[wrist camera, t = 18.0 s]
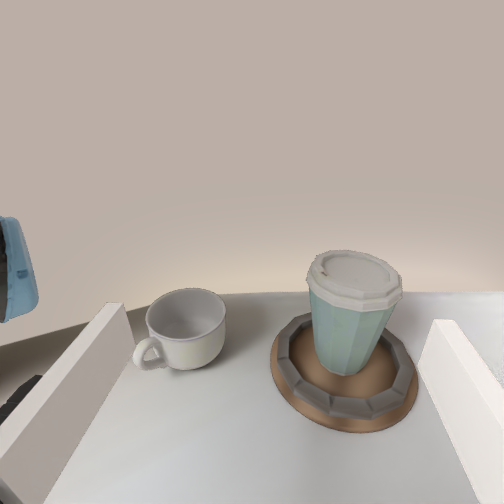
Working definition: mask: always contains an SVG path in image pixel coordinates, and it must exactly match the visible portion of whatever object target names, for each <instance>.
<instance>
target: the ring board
mask: <svg viewBox="0 0 504 504" xmlns="http://www.w3.org/2000/svg"><path fill="white" fill-rule="evenodd" d="M271 371H272V375H273V379H274V381H275V383H276V386H277V388H278V389H279V391H280V392H281V394H282V395H283V397H284V398H285V399H286V400H287V401H288V403H289V404H290V405H291V406H293V407H294V408H295V409H296V410H297V411H298V412H300V413H301V414H302V415H304V416H305V417H307V418H308V419H310V420H312V421H314V422H316V423H318V424H320V425H322V426H325V427H327V428H331V429H334V430H338V431H343V432H349V433H370V432H376V431H380V430H384V429H386V428H389V427H391V426H393V425H395V424H396V423H398V422H399V421H401V420H402V419H403V418H404V417H405V416H406V415H407V414H408V412H409V411H410V409H411V408H412V405H413V403H414V401H415V398H416V395H417V389H418V378H417V372H416V369H415V366H414V364H413V362H412V360H411V358H410V356H409V355H408V353H407V352H406V349H405V347H404V345H403V343H402V342H401V341H400V340H399V339H398V338H396V337H395V336H394V335H393V334H392V333H390V332H389V331H388V330H387V329H386V328H384V329H383V331H382V333H381V335H380V338H379V340H378V342H377V344H376V346H375V348H374V350H373V352H372V354H371V356H370V358H369V360H368V362H367V364H366V365H365V366H364V367H363V368H362V369H361V370H360V371H359V372H357V373H356V374H355V375H348V376H341V375H338V374H334V373H331V372H330V371H328V370H327V369H326V368H325V367H323V366H322V365H321V363H320V361H319V359H318V357H317V354H316V352H315V344H314V334H313V323H312V313H311V312H310V313H307V314H304V315H301V316H298V317H295V318H294V319H293V320H292V321H291V322H290V323H289V324H288V325H287V326H286V327H285V328H284V329H283V330H281V332H280V333H279V334H278V335H277V337H276V339H275V340H274V343H273V346H272V349H271Z"/></svg>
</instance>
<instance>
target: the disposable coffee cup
mask: <svg viewBox="0 0 504 504" xmlns="http://www.w3.org/2000/svg"><path fill="white" fill-rule="evenodd" d="M306 281H307V283H308V285H309V292H310V303H311V313H312V323H313V334H314V344H315V352H316V354H317V357H318V359H319V361H320V363H321V365H322V366H323V367H325V368H326V369H327V370H328V371H330V372H331V373H334V374H338V375H341V376H348V375H355V374H356V373H357V372H359V371H360V370H361V369H362V368H363V367H364V366H365V365H366V364H367V362H368V360H369V358H370V356H371V354H372V352H373V350H374V348H375V346H376V344H377V342H378V340H379V338H380V335H381V333H382V331H383V329H384V327H385V325H386V323H387V321H388V319H389V317H390V315H391V313H392V311H393V309H394V307H395V305H396V303H397V302H398V301H399V300H400V299H401V298H402V279H401V276H400V275H399V274H398V273H397V271H395V270H394V269H393V268H392V267H391V266H390V265H389V264H388V263H387V262H385V261H383V260H381V259H379V258H376V257H374V256H372V255H369V254H366V253H361V252H355V251H350V250H334V251H328V252H325V253H322V254H319V255H317V256H316V258H315V260H314V261H313V262H312V264H311V266H310V269H309V271H308V273H307V278H306Z"/></svg>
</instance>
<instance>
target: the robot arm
mask: <svg viewBox="0 0 504 504" xmlns="http://www.w3.org/2000/svg"><path fill="white" fill-rule="evenodd" d="M38 299H39V296H38V290H37V285H36V280H35V276H34V271H33V268H32V263H31V259H30V256H29V252H28V248H27V245H26V242H25V239H24V235H23V232H22V229H21V226H20V224H19V222H18V220H17V219H15V218H13V217H5V218H4V217H2V216H1V217H0V323H5V322H7V321H9V319H12V318H14V317H17V316H20V315H23V314H25V313H28V312H30V311H32V310H33V309H34V308H35V307H36V305H37V303H38ZM135 349H136V344H135V341H134V337H133V334H132V331H131V327H130V324H129V321H128V318H127V314H126V311H125V308H124V304H123V303H113V302H107V303H106V304H105V305H104V306H103V308H102V309H101V310H100V311H99V312H98V313H97V315H96V316H95V317H94V318H93V319H92V320H91V321H90V323H89V324H88V325H87V326H86V327H85V328H84V330H83V331H82V332H81V333H80V334H79V335H78V337H77V338H76V339H75V340H74V341H73V342H72V343H71V345H70V346H69V347H68V348H67V349H66V350H65V352H64V353H63V354H62V355H61V356H60V357H59V358H58V360H57V361H56V362H55V363H54V364H53V365H52V367H51V368H50V369H49V370H48V371H47V372H46V374H45V375H44V376H42V375H35V376H34V377H32V378H31V379H30V380H28V381H27V382H26V383H24V384H23V385H21V386H20V387H19V388H18V389H17V390H16V391H15V392H14V394H13V395H12V396H11V397H10V398H9V399H8V400H7V403H6V404H3V406H2V407H1V408H0V504H43V503H44V501H45V499H46V498H47V496H48V494H49V492H50V491H51V489H52V487H53V486H54V484H55V482H56V481H57V479H58V477H59V476H60V474H61V472H62V471H63V469H64V467H65V466H66V464H67V462H68V461H69V459H70V457H71V456H72V454H73V452H74V451H75V449H76V447H77V446H78V444H79V442H80V441H81V439H82V437H83V436H84V434H85V432H86V431H87V429H88V427H89V426H90V424H91V422H92V421H93V419H94V417H95V416H96V414H97V412H98V411H99V409H100V407H101V406H102V404H103V402H104V401H105V399H106V397H107V396H108V394H109V392H110V391H111V389H112V387H113V386H114V384H115V382H116V381H117V379H118V377H119V376H120V374H121V372H122V371H123V369H124V367H125V366H126V364H127V362H128V361H129V359H130V357H131V356H132V354H133V352H134V351H135ZM417 368H418V370H419V372H420V374H421V376H422V379H423V381H424V383H425V385H426V387H427V390H428V392H429V394H430V396H431V398H432V400H433V403H434V405H435V407H436V409H437V411H438V414H439V416H440V418H441V420H442V422H443V424H444V427H445V429H446V431H447V433H448V435H449V438H450V440H451V442H452V444H453V446H454V449H455V451H456V453H457V455H458V457H459V459H460V462H461V464H462V466H463V468H464V470H465V473H466V475H467V477H468V479H469V481H470V483H471V486H472V488H473V490H474V492H475V494H476V497H477V499H478V501H479V503H480V504H504V389H503V388H502V386H501V385H500V384H499V382H498V381H497V379H496V378H495V377H494V375H493V374H492V372H491V371H490V370H489V368H488V367H487V365H486V364H485V363H484V361H483V360H482V358H481V357H480V356H479V354H478V353H477V351H476V350H475V349H474V347H473V346H472V344H471V343H470V342H469V340H468V339H467V337H466V336H465V335H464V333H463V332H462V330H461V329H460V327H459V326H458V325H457V323H456V322H455V320H442V319H434V320H433V322H432V325H431V328H430V331H429V334H428V337H427V340H426V343H425V346H424V348H423V351H422V354H421V357H420V360H419V363H418V366H417Z"/></svg>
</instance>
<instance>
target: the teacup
mask: <svg viewBox="0 0 504 504" xmlns="http://www.w3.org/2000/svg"><path fill="white" fill-rule="evenodd" d="M225 316H226V306H225V303H224V302H223V300H222V299H221V298H220V297H219V296H218V295H217V294H215V293H214V292H211V291H208V290H205V289H200V288H186V289H179V290H175V291H172V292H169V293H167V294H165V295H163V296H161V297H160V298H158V299H157V300H156V301H154V302H153V303H152V304H151V306H150V307H149V308H148V310H147V313H146V317H145V318H146V325H147V327H148V329H149V334H150V337H148V338H145V339H143V340H142V341H140V342H139V343H138V344H137V346H136V349H135V351H134V352H133V362H134V364H135V365H136V366H137V367H138V368H140V369H142V370H152V369H156V368H159V367H160V368H165V367H167V366H169V367H171V368H174V369H179V370H191V369H196V368H199V367H202V366H204V365H206V364H208V363H209V362H211V361H212V360H213V359H214V358H215V357H216V356H217V355H218V354H219V353H220V351H221V349H222V347H223V345H224V341H225V333H226V321H225ZM151 347H153V350H154V352H155V354H156V356H157V358H155V359H152V360H149V361H144V360H143V359H144V355H145V353H146V351H147V350H148V349H149V348H151Z"/></svg>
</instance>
